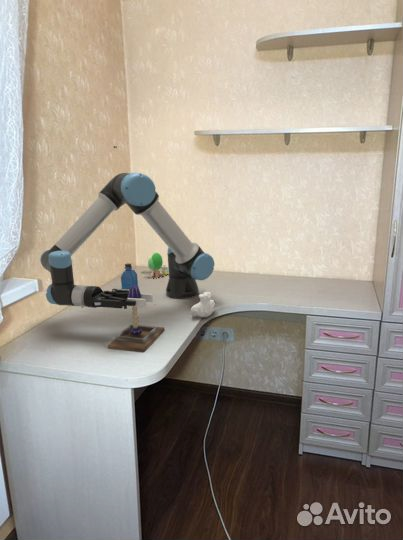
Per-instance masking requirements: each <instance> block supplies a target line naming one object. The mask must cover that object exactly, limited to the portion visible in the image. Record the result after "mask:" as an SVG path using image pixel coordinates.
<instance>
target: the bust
mask: <svg viewBox="0 0 403 540" xmlns="http://www.w3.org/2000/svg"><path fill="white" fill-rule="evenodd" d="M198 297H199V299H200V300H199V302H198V303H196V304H194V305H192V306H191V309H190V311H189V312H190V316H191V317H192V318H196V317H199V318H208V317H209V316H211V314H212V313H214V308H215V306H216V303H215V301H214V300H213V299H212V293H211V292H210V291H203V293H200V294H198Z"/></svg>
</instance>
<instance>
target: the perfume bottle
mask: <svg viewBox="0 0 403 540" xmlns="http://www.w3.org/2000/svg"><path fill="white" fill-rule="evenodd" d="M138 282H139V281H138V273H137V272H136V271H135V270H134V269H133V266H132V263H125V264H124V271H122V274H121V276H120V283H121V290H122V289H129V288H130V286H138V287H139V283H138Z"/></svg>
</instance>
